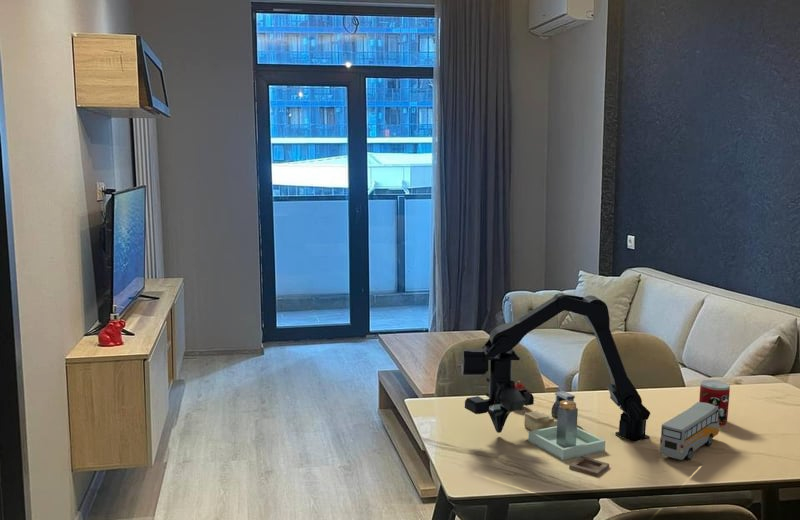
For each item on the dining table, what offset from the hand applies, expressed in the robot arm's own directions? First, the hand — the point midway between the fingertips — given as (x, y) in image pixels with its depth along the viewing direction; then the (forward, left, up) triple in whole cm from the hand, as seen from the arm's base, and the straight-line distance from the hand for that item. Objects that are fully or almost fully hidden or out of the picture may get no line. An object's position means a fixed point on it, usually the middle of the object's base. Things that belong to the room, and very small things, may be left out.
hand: (498, 432), depth 193 cm
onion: (-19, -17, -1) cm, 26 cm away
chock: (-15, 0, -1) cm, 15 cm away
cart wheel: (-22, 0, -1) cm, 22 cm away
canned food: (-62, +17, -1) cm, 64 cm away
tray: (-11, +14, -1) cm, 18 cm away
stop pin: (-11, +14, 0) cm, 18 cm away
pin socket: (-7, +27, -1) cm, 28 cm away
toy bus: (-39, +29, -1) cm, 49 cm away
